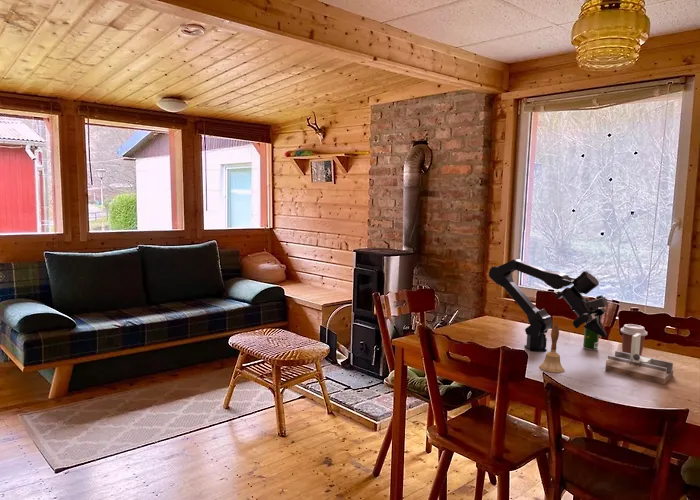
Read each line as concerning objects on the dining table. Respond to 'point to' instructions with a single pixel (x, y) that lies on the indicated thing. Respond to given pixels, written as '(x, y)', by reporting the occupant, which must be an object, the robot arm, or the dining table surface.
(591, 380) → the dining table surface
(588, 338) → the beer can
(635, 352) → the carriage
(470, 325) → the dining table surface
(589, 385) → the dining table surface
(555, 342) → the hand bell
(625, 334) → the coffee cup
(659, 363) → the stand
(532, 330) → the robot arm
